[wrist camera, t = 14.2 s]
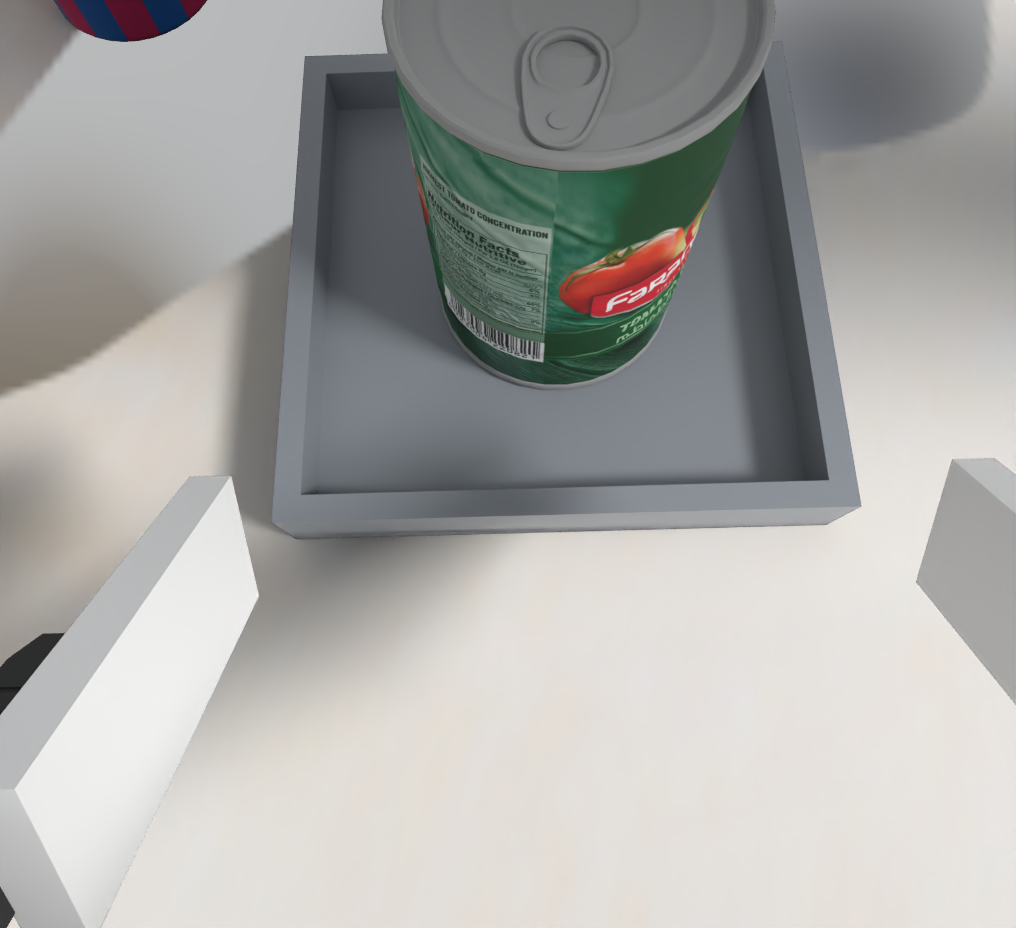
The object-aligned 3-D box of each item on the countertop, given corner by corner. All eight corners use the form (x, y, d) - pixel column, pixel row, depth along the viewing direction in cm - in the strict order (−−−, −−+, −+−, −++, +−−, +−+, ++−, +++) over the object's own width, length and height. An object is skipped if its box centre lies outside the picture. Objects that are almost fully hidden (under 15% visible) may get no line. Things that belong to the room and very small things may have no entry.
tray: (759, 95, 28) (781, 40, 26) (826, 524, 23) (861, 506, 21) (322, 109, 28) (304, 56, 26) (296, 538, 23) (271, 522, 21)
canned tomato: (460, 177, 26) (420, -161, 16) (677, 202, 26) (784, -129, 15) (420, 376, 24) (343, 136, 14) (658, 408, 24) (768, 183, 13)
